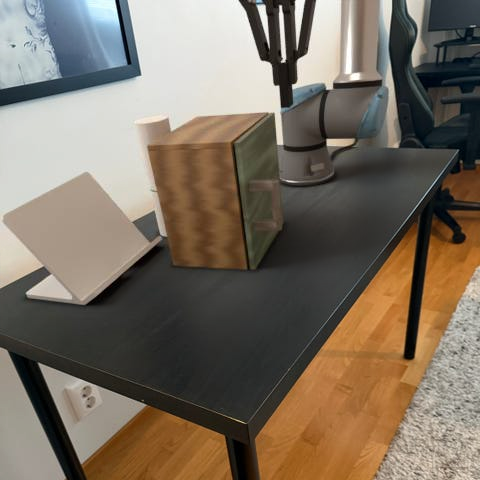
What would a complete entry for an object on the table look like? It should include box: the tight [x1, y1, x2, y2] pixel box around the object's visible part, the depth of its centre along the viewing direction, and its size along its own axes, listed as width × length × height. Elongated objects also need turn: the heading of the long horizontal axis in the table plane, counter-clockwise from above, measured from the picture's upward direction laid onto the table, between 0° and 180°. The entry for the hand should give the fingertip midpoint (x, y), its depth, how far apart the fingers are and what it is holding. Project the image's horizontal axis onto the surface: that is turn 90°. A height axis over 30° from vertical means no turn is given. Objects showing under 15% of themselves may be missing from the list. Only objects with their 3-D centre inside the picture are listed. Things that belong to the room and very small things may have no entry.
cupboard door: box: [234, 112, 284, 271], centre depth 92 cm, size 6×22×24 cm, turn 161°
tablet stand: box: [0, 171, 163, 306], centre depth 95 cm, size 18×25×17 cm
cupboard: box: [147, 111, 270, 271], centre depth 96 cm, size 16×22×24 cm
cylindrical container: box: [134, 114, 172, 237], centre depth 106 cm, size 7×7×25 cm
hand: (287, 105), depth 81 cm, fingers closed
